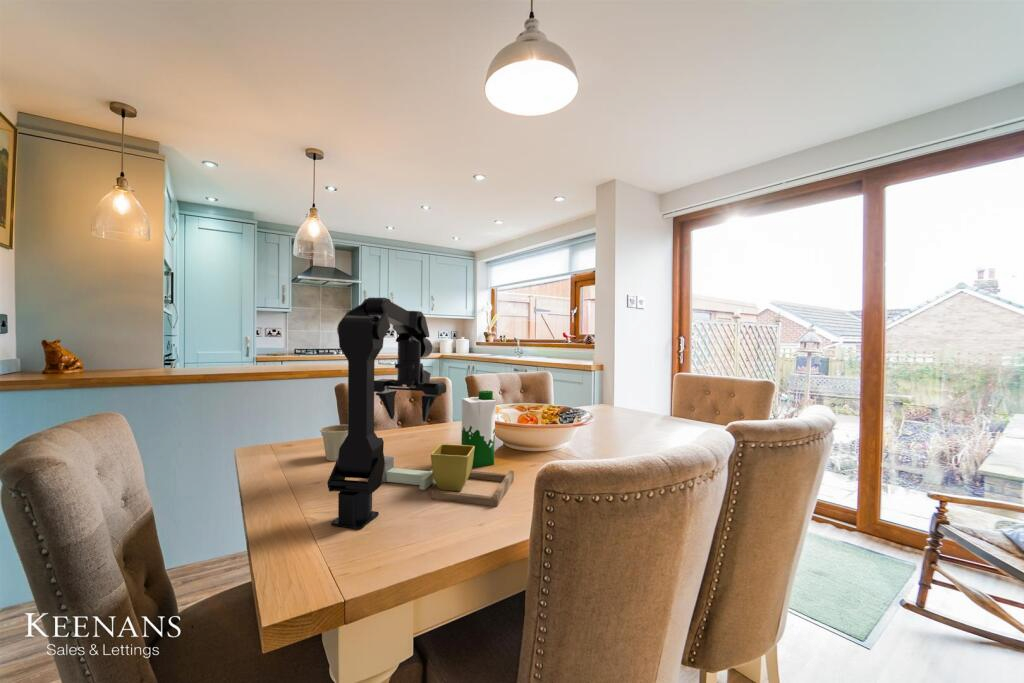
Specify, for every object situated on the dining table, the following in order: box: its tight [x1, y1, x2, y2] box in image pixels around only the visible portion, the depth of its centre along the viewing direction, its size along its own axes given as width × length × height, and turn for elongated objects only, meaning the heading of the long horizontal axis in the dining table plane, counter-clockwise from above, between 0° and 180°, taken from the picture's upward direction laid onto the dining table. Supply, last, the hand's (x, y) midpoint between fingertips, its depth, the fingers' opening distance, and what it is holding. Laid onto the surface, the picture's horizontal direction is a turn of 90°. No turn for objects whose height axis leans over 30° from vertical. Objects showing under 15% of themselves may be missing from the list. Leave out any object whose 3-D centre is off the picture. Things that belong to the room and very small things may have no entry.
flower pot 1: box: [319, 424, 348, 462], centre depth 118 cm, size 9×9×9 cm
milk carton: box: [461, 390, 498, 468], centre depth 116 cm, size 9×9×20 cm
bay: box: [431, 470, 515, 507], centre depth 96 cm, size 15×15×2 cm
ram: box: [382, 455, 435, 491], centre depth 100 cm, size 8×15×5 cm, turn 77°
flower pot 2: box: [430, 443, 475, 492], centre depth 97 cm, size 9×9×9 cm
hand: (408, 420), depth 106 cm, fingers open, 9 cm apart
